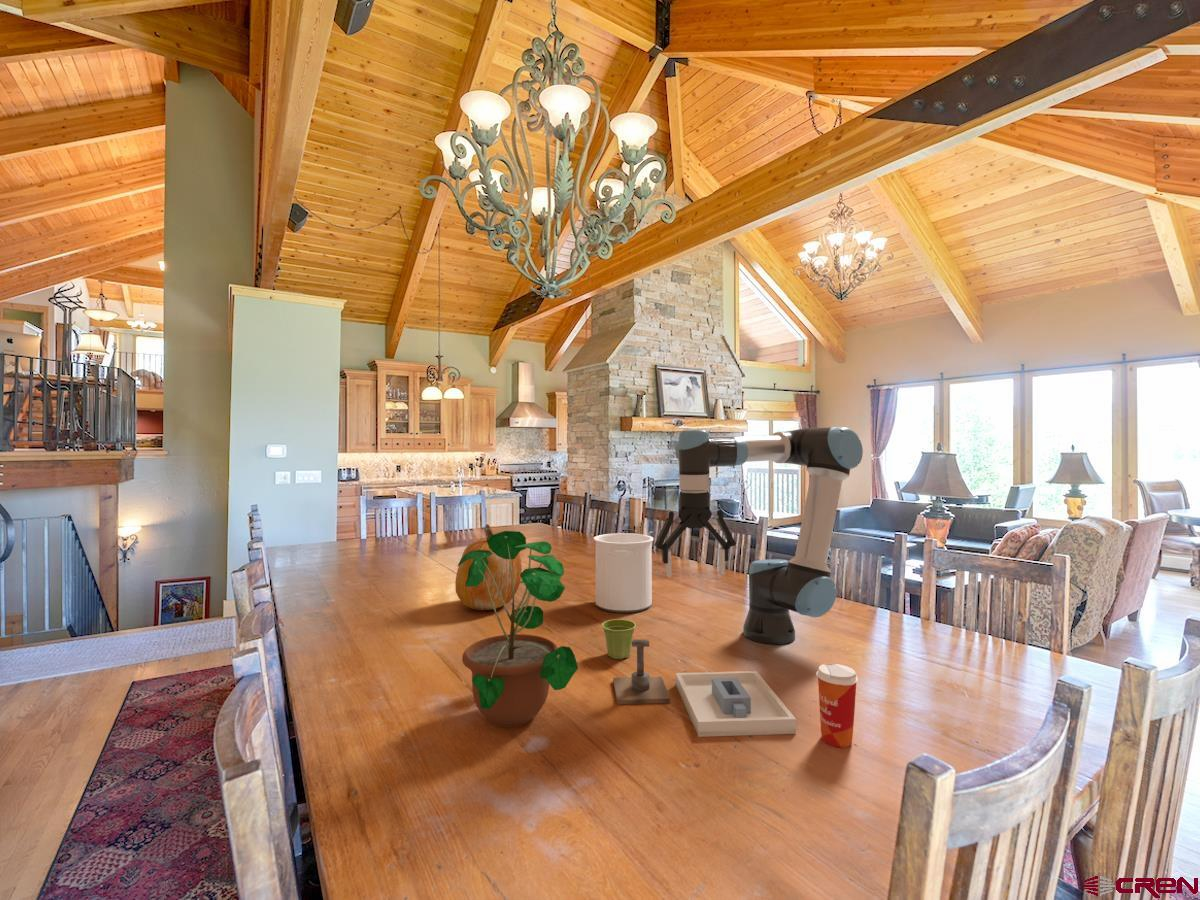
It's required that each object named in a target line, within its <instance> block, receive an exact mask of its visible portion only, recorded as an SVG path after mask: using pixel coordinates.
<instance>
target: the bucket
mask: <svg viewBox="0 0 1200 900" xmlns="http://www.w3.org/2000/svg"><path fill="white" fill-rule="evenodd" d="M593 541H594V542H595V605H596V606H597V607H598V608H599V609H601V610H602V611H606V612H611V613H616V614H617V613H618V614H619V613H620V614H631V613H638V612H643V611H646V610H647V609H649V608H650V607H651V606H652V602H653V601H652V593H653V592H652V590H653V589H652V588H653V586H652V585H653V584H652V580H653V578H652V573H653V572H652V569H653V567H652V566H653V565H652V564H653V563H652V556H653V555H652V548H653V547H652V543H653V541H654V537H653V536H651V535H646V534H643V533H641V534H640V533H630V532H629V533H628V532H626V533H625V532H623V533H619V532H618V533H617V532H616V533H615V532H613V533H605V534H600V535H596V536H594V537H593Z"/></svg>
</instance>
